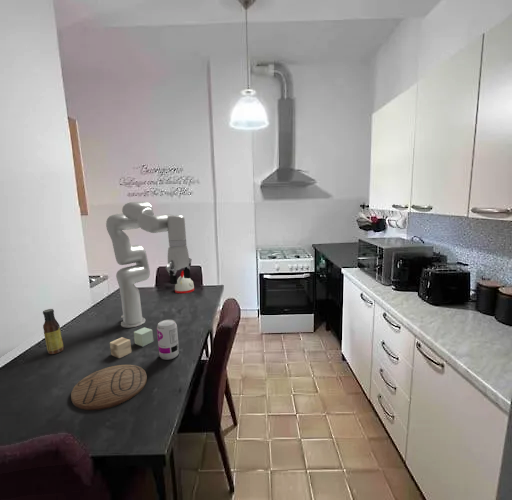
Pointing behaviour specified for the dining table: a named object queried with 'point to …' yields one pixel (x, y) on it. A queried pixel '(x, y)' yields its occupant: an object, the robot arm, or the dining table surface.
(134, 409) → the dining table surface
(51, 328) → the sauce bottle
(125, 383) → the trivet
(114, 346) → the beech cube
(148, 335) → the sage cube
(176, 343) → the supplement can
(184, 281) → the white and red dome
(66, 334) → the dining table surface
